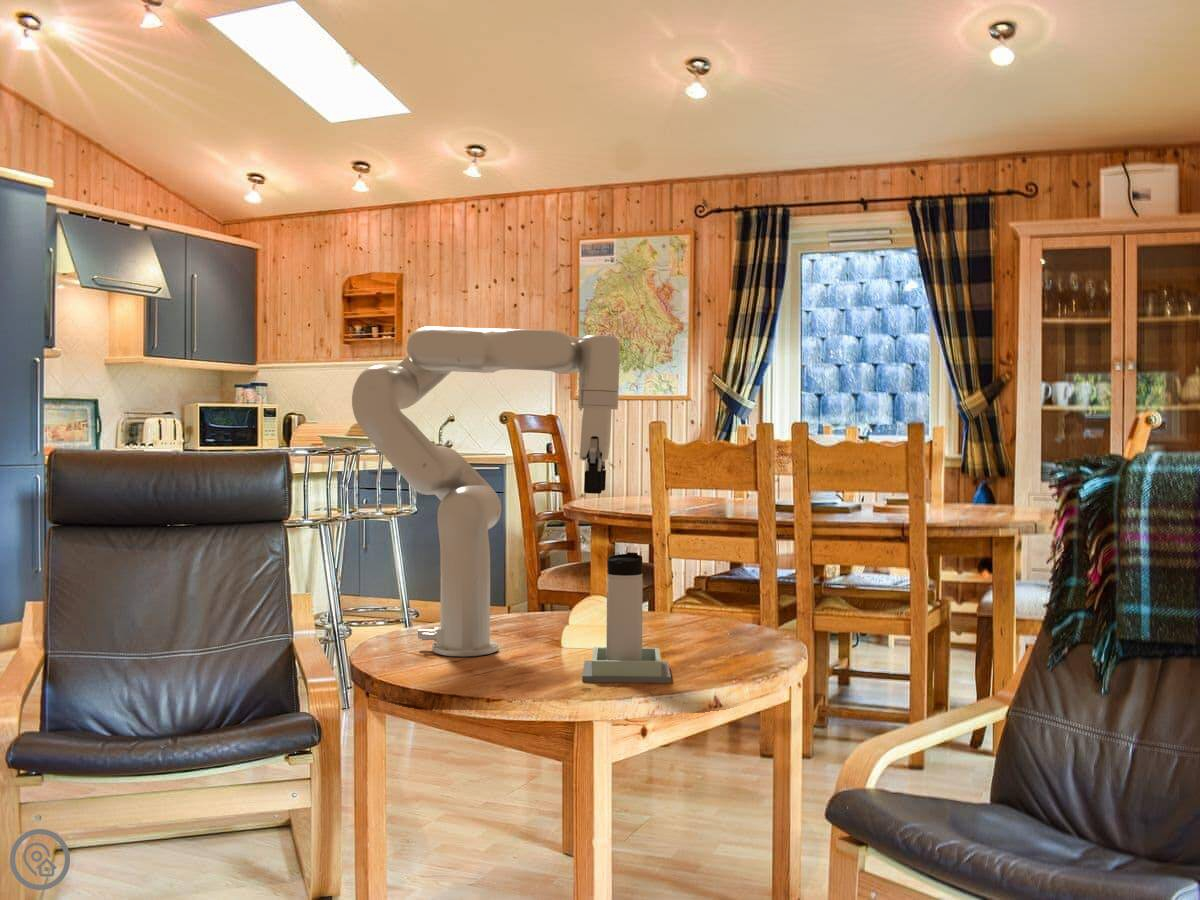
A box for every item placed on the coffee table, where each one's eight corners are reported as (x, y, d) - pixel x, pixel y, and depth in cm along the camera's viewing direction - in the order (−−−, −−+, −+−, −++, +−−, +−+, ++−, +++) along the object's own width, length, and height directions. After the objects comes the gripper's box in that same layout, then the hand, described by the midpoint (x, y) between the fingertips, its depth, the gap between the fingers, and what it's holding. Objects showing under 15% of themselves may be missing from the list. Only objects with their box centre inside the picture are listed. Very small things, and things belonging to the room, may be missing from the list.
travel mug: (648, 666, 189) (649, 553, 188) (632, 673, 183) (633, 557, 183) (617, 662, 192) (617, 551, 191) (600, 669, 186) (600, 555, 186)
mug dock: (582, 681, 181) (582, 661, 181) (584, 666, 193) (584, 646, 193) (670, 683, 181) (671, 662, 181) (667, 667, 193) (667, 647, 193)
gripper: (582, 401, 210) (579, 488, 211) (573, 399, 193) (570, 493, 193) (620, 403, 210) (617, 490, 210) (615, 400, 193) (611, 495, 193)
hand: (594, 491), depth 202 cm, fingers open, 9 cm apart
